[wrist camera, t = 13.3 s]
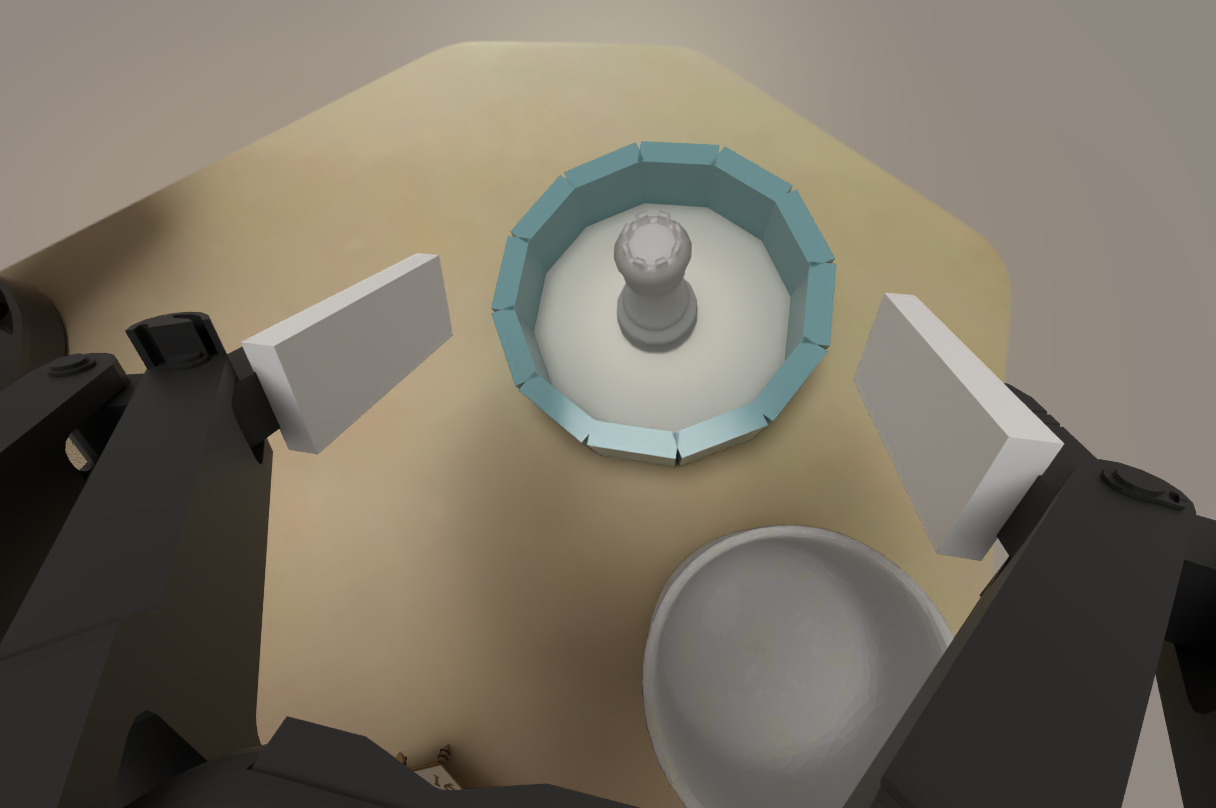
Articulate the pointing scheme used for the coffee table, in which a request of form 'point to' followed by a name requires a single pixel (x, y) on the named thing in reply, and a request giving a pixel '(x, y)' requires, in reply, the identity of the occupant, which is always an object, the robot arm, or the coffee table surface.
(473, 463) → the coffee table surface
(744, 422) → the dish
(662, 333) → the rook chess piece
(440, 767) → the game die
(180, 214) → the coffee table surface
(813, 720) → the teacup
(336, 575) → the coffee table surface
